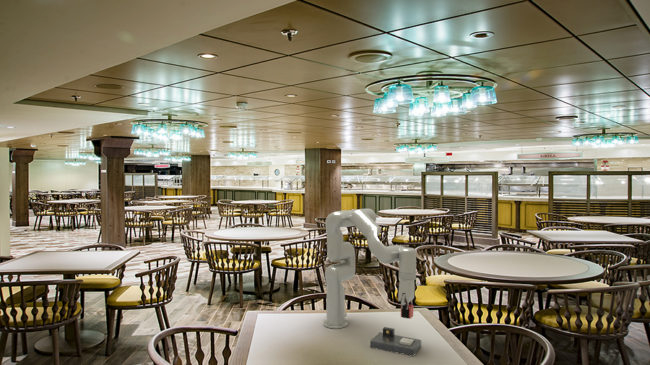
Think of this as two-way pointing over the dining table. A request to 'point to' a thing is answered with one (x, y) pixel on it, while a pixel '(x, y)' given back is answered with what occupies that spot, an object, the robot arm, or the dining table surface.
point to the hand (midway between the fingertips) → (406, 315)
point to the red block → (409, 311)
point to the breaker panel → (393, 342)
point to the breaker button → (406, 341)
